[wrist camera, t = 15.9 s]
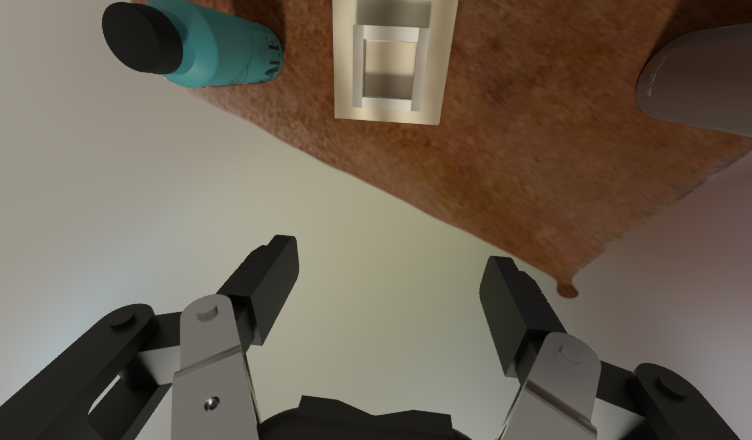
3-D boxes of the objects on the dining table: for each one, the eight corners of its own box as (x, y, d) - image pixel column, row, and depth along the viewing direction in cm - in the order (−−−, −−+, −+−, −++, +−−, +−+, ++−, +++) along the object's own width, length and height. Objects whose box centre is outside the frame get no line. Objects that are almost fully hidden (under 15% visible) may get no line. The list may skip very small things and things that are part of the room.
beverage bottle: (231, 32, 34) (49, -9, 17) (279, 16, 33) (136, -45, 15) (253, 88, 37) (118, 104, 20) (298, 75, 36) (196, 80, 18)
